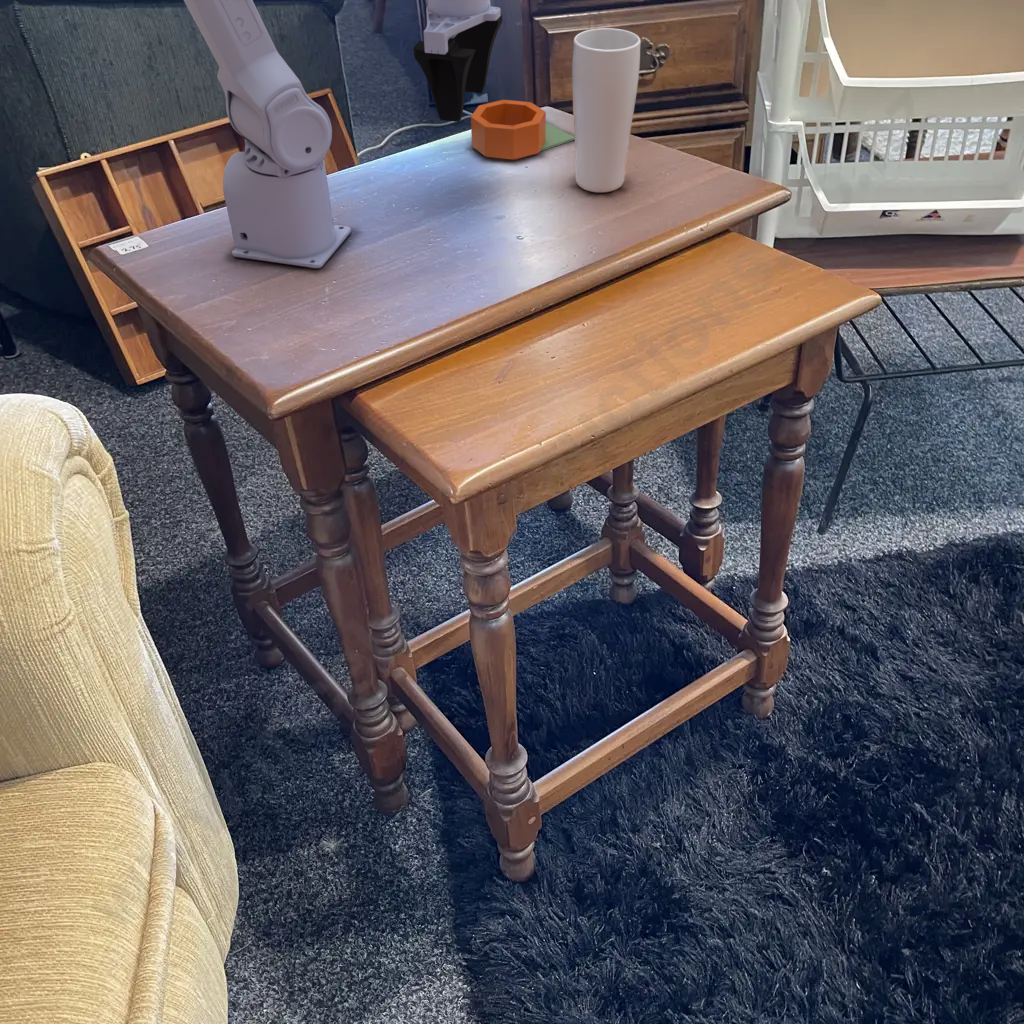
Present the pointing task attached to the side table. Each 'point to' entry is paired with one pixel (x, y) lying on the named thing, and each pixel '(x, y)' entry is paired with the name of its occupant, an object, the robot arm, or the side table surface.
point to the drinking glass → (603, 104)
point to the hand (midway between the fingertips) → (462, 105)
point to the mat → (555, 137)
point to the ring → (508, 129)
